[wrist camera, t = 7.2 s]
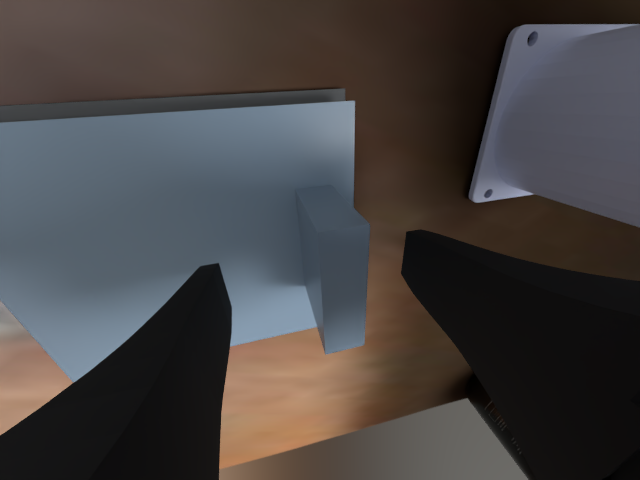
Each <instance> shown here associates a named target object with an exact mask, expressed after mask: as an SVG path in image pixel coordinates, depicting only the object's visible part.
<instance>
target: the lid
mask: <svg viewBox="0 0 640 480" xmlns="http://www.w3.org/2000/svg"><path fill="white" fill-rule="evenodd" d="M354 139H355V101H339V102H323V103H307V104H290V105H274V106H258V107H242V108H226V109H210V110H194V111H178V112H162V113H146V114H130V115H114V116H98V117H82V118H66V119H50V120H33V121H17V122H1V123H0V300H1V301H2V302H3V304H4V305H5V306H6V307H7V308H8V309H9V310H10V312H11V313H12V314H13V315H14V316H15V317H16V318H17V319H18V321H19V322H20V323H21V324H22V325H23V326H24V327H25V328H26V330H27V331H28V332H29V333H30V334H31V335H32V336H33V338H34V339H35V340H36V341H37V342H38V343H39V344H40V345H41V347H42V348H43V349H44V350H45V351H46V352H47V353H48V354H49V356H50V357H51V358H52V359H53V360H54V361H55V362H56V364H57V365H58V366H59V367H60V368H61V369H62V370H63V371H64V373H65V374H66V375H67V376H68V377H69V378H70V379H71V380H72V382H76V381H77V380H78V379H80V378H81V377H82V376H84V375H85V374H86V373H88V372H89V371H90V370H91V369H93V368H94V367H95V366H96V365H98V364H99V363H100V362H101V361H103V360H104V359H105V358H106V357H107V356H109V355H110V354H111V353H112V352H113V351H115V350H116V349H117V348H118V347H119V346H121V345H122V344H123V343H124V342H125V341H126V340H127V339H129V338H130V337H131V336H132V335H133V334H134V333H135V332H136V331H137V330H138V329H139V328H140V327H142V326H143V325H144V324H145V323H146V322H147V321H148V320H149V319H150V318H151V317H152V316H153V315H154V314H155V313H156V312H157V311H158V310H159V309H160V308H161V307H162V306H163V305H164V304H165V303H166V302H167V301H168V300H169V299H170V298H171V297H172V296H173V295H174V294H175V292H176V291H177V290H178V289H179V288H180V287H181V286H182V285H183V284H184V283H185V282H186V281H187V280H188V278H189V277H190V276H191V275H192V274H193V273H194V272H195V271H196V270H197V269H198V268H199V267H200V266H203V265H209V264H215V263H219V265H220V268H221V272H222V275H223V279H224V282H225V285H226V289H227V292H228V295H229V299H230V302H231V306H232V334H231V342H230V346H235V345H239V344H244V343H248V342H252V341H257V340H261V339H266V338H270V337H274V336H279V335H283V334H288V333H292V332H296V331H301V330H305V329H310V328H314V327H317V328H318V331H319V334H320V338H321V341H322V345H323V348H324V351H325V355H326V354H330V353H334V352H338V351H342V350H346V349H350V348H354V347H358V346H362V345H364V339H365V319H366V298H367V278H368V257H369V237H370V224H369V223H368V222H367V221H366V220H365V219H364V218H363V217H362V216H361V215H360V214H359V213H358V212H357V211H356V210H355V209H354Z"/></svg>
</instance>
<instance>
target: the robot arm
mask: <svg viewBox="0 0 640 480" xmlns="http://www.w3.org/2000/svg"><path fill="white" fill-rule="evenodd" d="M528 37H529V42H528V44H527V39H528ZM486 191H487V192H486ZM485 192H486V193H485ZM532 194H536V195H539V196H543V197H546V198H549V199H552V200H555V201H558V202H561V203H565V204H568V205H571V206H574V207H577V208H580V209H584V210H587V211H590V212H593V213H596V214H599V215H602V216H606V217H609V218H612V219H615V220H618V221H621V222H624V223H628V224H631V225H634V226H637V227H640V24H526V25H522V26H519V27H516V28H514V29H513V30H512V31H511V32H510V34H509V35H508V38H507V41H506V45H505V49H504V53H503V57H502V61H501V65H500V69H499V73H498V77H497V81H496V85H495V89H494V94H493V98H492V102H491V106H490V110H489V114H488V118H487V122H486V126H485V130H484V134H483V138H482V142H481V146H480V150H479V154H478V159H477V163H476V167H475V171H474V175H473V179H472V183H471V187H470V191H469V199H470V200H471V201H473V202H475V203H479V202H486V201H493V200H499V199H506V198H513V197H519V196H526V195H532ZM401 274H402V276H403V278H404V279H405V281H406V283H407V284H408V286H409V288H410V289H411V291H412V292H413V294H414V295H415V296H416V298H417V299H418V300H419V301H420V303H421V304H422V305H423V306H424V307H425V309H426V310H427V311H428V312H429V314H430V315H431V316H432V317H433V318H434V320H435V321H436V322H437V323H438V324H439V326H440V327H441V328H442V329H443V330H444V332H445V333H446V334H447V335H448V336H449V338H450V339H451V340H452V342H453V343H454V344H455V345H456V347H457V348H458V349H459V351H460V352H461V354H462V355H463V357H464V358H465V360H466V361H467V363H468V364H469V366H470V367H471V369H472V370H473V372H474V373H475V375H476V376H477V378H478V379H479V381H480V382H481V384H482V386H483V387H484V389H485V390H486V392H487V393H488V395H489V397H490V398H491V400H492V401H493V403H494V405H495V406H496V408H497V410H498V412H499V413H500V415H501V417H502V418H503V420H504V422H505V423H506V425H507V427H508V429H509V430H510V432H511V434H512V435H513V437H514V439H515V441H516V443H517V444H518V446H519V448H520V450H521V452H522V454H523V455H524V457H525V459H526V461H527V463H528V465H529V467H530V468H531V470H532V472H533V474H534V476H535V478H536V480H640V281H634V280H626V279H619V278H612V277H605V276H599V275H593V274H588V273H582V272H576V271H571V270H566V269H560V268H556V267H551V266H547V265H542V264H538V263H534V262H529V261H525V260H521V259H517V258H514V257H510V256H507V255H503V254H500V253H496V252H493V251H489V250H486V249H483V248H480V247H477V246H474V245H471V244H467V243H464V242H461V241H458V240H455V239H452V238H449V237H446V236H443V235H440V234H436V233H433V232H429V231H425V230H414V231H408V232H406V240H405V247H404V255H403V263H402V270H401ZM231 334H232V306H231V302H230V299H229V295H228V292H227V289H226V285H225V282H224V279H223V275H222V272H221V268H220V265H219V263H215V264H209V265H203V266H200V267H199V268H198V269H197V270H196V271H195V272H194V273H193V274H192V275H191V276H190V277H189V278H188V280H187V281H186V282H185V283H184V284H183V285H182V286H181V287H180V288H179V289H178V290H177V291H176V292H175V294H174V295H173V296H172V297H171V298H170V299H169V300H168V301H167V302H166V303H165V304H164V305H163V306H162V307H161V308H160V309H159V310H158V311H157V312H156V313H155V314H154V315H153V316H152V317H151V318H150V319H149V320H148V321H147V322H146V323H145V324H144V325H143V326H142V327H140V328H139V329H138V330H137V331H136V332H135V333H134V334H133V335H132V336H131V337H130V338H129V339H127V340H126V341H125V342H124V343H123V344H122V345H121V346H119V347H118V348H117V349H116V350H115V351H113V352H112V353H111V354H110V355H109V356H107V357H106V358H105V359H104V360H103V361H101V362H100V363H99V364H98V365H96V366H95V367H94V368H93V369H91V370H90V371H89V372H88V373H86V374H85V375H84V376H82V377H81V378H80V379H78V380H77V381H76V382H74V383H73V384H72V385H70V386H69V387H68V388H66V389H65V390H64V391H62V392H61V393H60V394H58V395H57V396H56V397H54V398H53V399H52V400H50V401H49V402H48V403H46V404H45V405H44V406H42V407H41V408H39V409H38V410H37V411H35V412H34V413H32V414H31V415H29V416H28V417H27V418H25V419H24V420H22V421H21V422H19V423H18V424H16V425H15V426H14V427H12V428H11V429H9V430H8V431H6V432H5V433H4V434H2V435H1V436H0V480H219V453H220V429H221V410H222V400H223V392H224V385H225V378H226V371H227V364H228V357H229V349H230V342H231Z"/></svg>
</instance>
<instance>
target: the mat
mask: <svg viewBox="0 0 640 480" xmlns="http://www.w3.org/2000/svg"><path fill="white" fill-rule="evenodd" d="M339 101H345V89H326V90H306V91H286V92H266V93H246V94H226V95H206V96H186V97H166V98H146V99H126V100H106V101H86V102H66V103H46V104H27V105H7V106H0V123H1V122H17V121H33V120H50V119H66V118H82V117H98V116H114V115H130V114H146V113H162V112H178V111H194V110H210V109H226V108H242V107H258V106H274V105H290V104H307V103H323V102H339Z"/></svg>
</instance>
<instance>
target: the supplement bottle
mask: <svg viewBox="0 0 640 480" xmlns="http://www.w3.org/2000/svg"><path fill="white" fill-rule="evenodd" d="M466 394H467V397H468V399H469V401H470V402H471V404H472V405H473V406H474V408H475V409H476V410H477V412H478V413H479V415H480V416H481V417H482V419H483V420H484V421H485V423H486V424H487V425H488V427H489V428H490V429H491V430H492V432H493V433H494V434H495V436H496V437H497V438H498V440H499V441H500V442H501V444H502V445H503V446H504V448H505V449H506V450H507V452H508V453H509V454H510V456H511V457H512V458H513V460H514V461H515V462H516V463H517V465H518V466H519V468H520V469H521V470H522V472H523V473H524V474H525V476H526V477H527V478H528V480H536V478H535V476H534V474H533V472H532V470H531V468H530V467H529V465H528V463H527V461H526V459H525V457H524V455H523V454H522V452H521V450H520V448H519V446H518V444H517V443H516V441H515V439H514V437H513V435H512V434H511V432H510V430H509V429H508V427H507V425H506V423H505V422H504V420H503V418H502V417H501V415H500V413H499V412H498V410H497V408H496V406H495V405H494V403H493V401H492V400H491V398H490V397H489V395H488V393H487V392H486V390H485V389H484V387H483V386H482V384H481V382H480V381H479V379H478V378H477V376H476V375H475V376H474V377H473V378H472V379H471V380H470V382H469V384H468V386H467V389H466Z"/></svg>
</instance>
